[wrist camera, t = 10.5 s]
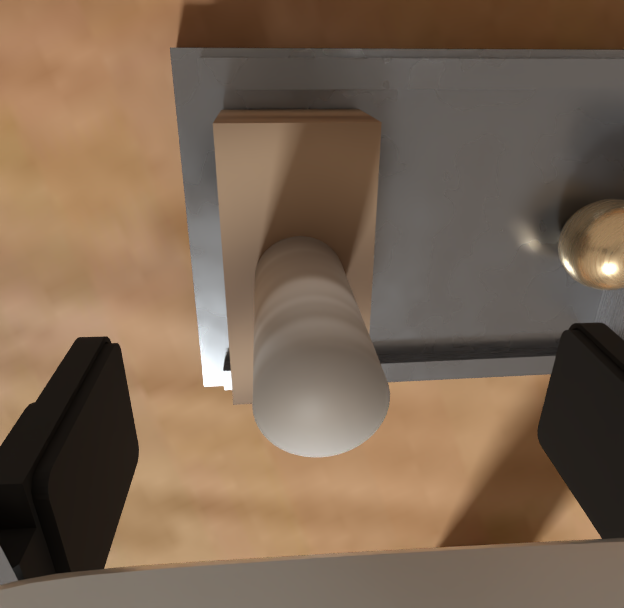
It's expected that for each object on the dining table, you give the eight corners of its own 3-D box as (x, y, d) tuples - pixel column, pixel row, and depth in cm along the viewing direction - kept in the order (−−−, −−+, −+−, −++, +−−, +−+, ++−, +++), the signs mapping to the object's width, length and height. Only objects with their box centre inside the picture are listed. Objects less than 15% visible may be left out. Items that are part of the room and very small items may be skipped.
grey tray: (175, 47, 20) (141, 46, 14) (682, 50, 21) (842, 50, 15) (206, 369, 26) (191, 462, 20) (599, 351, 27) (692, 432, 21)
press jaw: (221, 109, 19) (181, 173, 9) (358, 109, 19) (462, 169, 10) (237, 350, 23) (221, 569, 13) (349, 345, 24) (414, 555, 14)
